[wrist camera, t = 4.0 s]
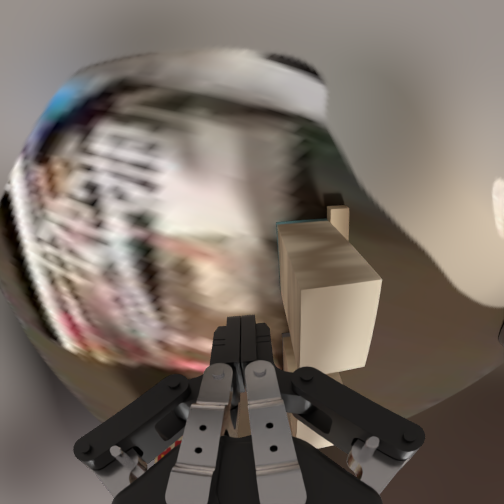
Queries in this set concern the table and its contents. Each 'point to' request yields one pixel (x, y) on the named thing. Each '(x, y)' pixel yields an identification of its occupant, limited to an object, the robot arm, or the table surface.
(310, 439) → the pale wooden block
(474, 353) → the table surface
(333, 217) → the strip
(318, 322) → the teal-foot block
